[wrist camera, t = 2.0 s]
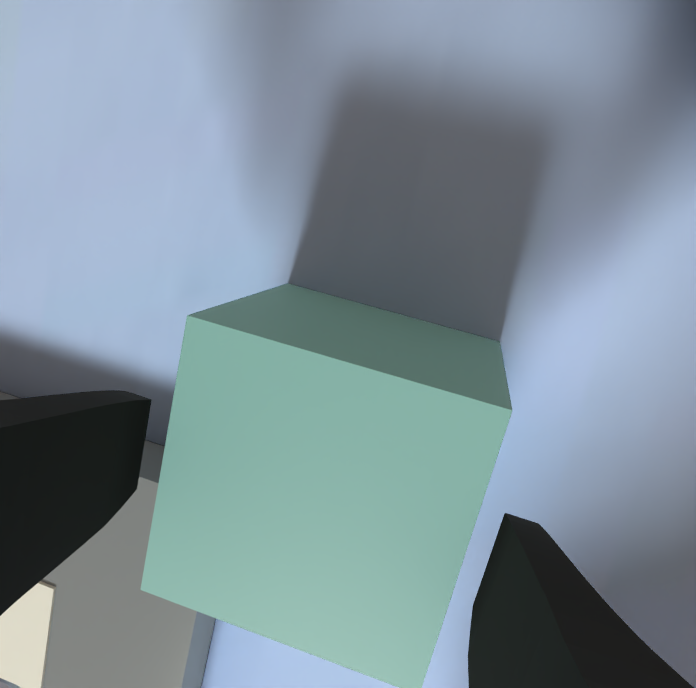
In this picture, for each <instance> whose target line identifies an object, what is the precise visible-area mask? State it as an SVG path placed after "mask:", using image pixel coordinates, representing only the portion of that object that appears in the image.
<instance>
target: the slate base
mask: <svg viewBox="0 0 696 688" xmlns="http://www.w3.org/2000/svg"><path fill="white" fill-rule="evenodd" d="M7 399H20V398H18V397H15V396H12V395H9V394H6V393H3V392H0V400H7ZM164 448H165V447H164V446H161V445H158V444H155V443H152V442H149V441H146V440H145V443H144V449H143V455H142V461H141V468H140V474H139V480H138V486H137V490H136V491H135V492H134V493H133V495H132V496H131V497H130V498H129V499H128V500H127V502H126V503H125V504H124V505H123V506H122V508H121V509H120V510H119V511H118V512H117V513H116V514H115V515H114V516H113V518H112V519H111V520H110V521H109V522H108V523H107V524H106V525H105V526H104V527H103V528H102V529H101V530H100V531H98V532H97V533H96V534H95V535H94V536H93V537H92V538H90V539H89V540H88V541H87V542H86V543H85V544H83V545H82V546H81V547H80V548H79V549H78V550H76V551H75V552H74V553H73V554H72V555H71V556H69V557H68V558H67V559H66V560H65V561H63V562H62V563H61V564H60V565H59V566H58V567H56V568H55V569H54V570H53V571H52V572H50V573H49V574H48V575H47V576H46V577H45V578H43V579H42V580H41V581H40V582H39V583H37V584H36V585H35V586H34V587H33V588H31V589H30V590H29V591H28V592H27V593H26V594H24V595H23V596H22V597H21V598H20V599H18V600H17V601H16V602H15V603H14V604H13V605H12V606H11V607H9V608H8V609H7V610H6V611H5V612H4V613H3V614H2V615H1V616H0V678H2V679H4V680H6V681H9V682H11V683H13V684H16V685H18V686H19V687H20V688H201V684H202V679H203V675H204V670H205V665H206V661H207V656H208V651H209V647H210V642H211V637H212V633H213V628H214V623H215V619H216V618H214V617H211V616H208V615H206V614H203V613H200V612H198V611H195V610H192V609H190V608H187V607H184V606H182V605H179V604H177V603H174V602H171V601H169V600H166V599H163V598H161V597H158V596H155V595H153V594H150V593H147V592H145V591H142V590H140V589H141V583H142V577H143V571H144V566H145V560H146V554H147V548H148V542H149V536H150V530H151V524H152V519H153V513H154V507H155V501H156V495H157V489H158V483H159V478H160V472H161V466H162V460H163V454H164Z"/></svg>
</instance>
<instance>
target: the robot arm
mask: <svg viewBox="0 0 696 688" xmlns="http://www.w3.org/2000/svg"><path fill="white" fill-rule="evenodd" d="M150 406H151V399H148V398H145V397H142V396H139V395H135V394H132V393H129V392H126V391H91V392H79V393H69V394H60V395H50V396H40V397H31V398H20V399H7V400H0V616H1V615H2V614H3V613H4V612H5V611H6V610H7V609H8V608H9V607H11V606H12V605H13V604H14V603H15V602H16V601H17V600H18V599H20V598H21V597H22V596H23V595H24V594H26V593H27V592H28V591H29V590H30V589H31V588H33V587H34V586H35V585H36V584H37V583H39V582H40V581H41V580H42V579H43V578H45V577H46V576H47V575H48V574H49V573H50V572H52V571H53V570H54V569H55V568H56V567H58V566H59V565H60V564H61V563H62V562H63V561H65V560H66V559H67V558H68V557H69V556H71V555H72V554H73V553H74V552H75V551H76V550H78V549H79V548H80V547H81V546H82V545H83V544H85V543H86V542H87V541H88V540H89V539H90V538H92V537H93V536H94V535H95V534H96V533H97V532H98V531H100V530H101V529H102V528H103V527H104V526H105V525H106V524H107V523H108V522H109V521H110V520H111V519H112V518H113V516H114V515H115V514H116V513H117V512H118V511H119V510H120V509H121V508H122V506H123V505H124V504H125V503H126V502H127V500H128V499H129V498H130V497H131V496H132V495H133V493H134V492H135V491H136V490H137V486H138V480H139V474H140V468H141V461H142V455H143V449H144V443H145V437H146V430H147V424H148V418H149V412H150ZM468 673H469V688H694V687H692V686H691V685H690V684H689V683H688V682H687V681H686V680H684V679H683V678H682V677H681V676H680V675H679V674H678V673H677V672H676V671H674V670H673V669H672V668H671V667H670V666H669V665H668V664H667V663H666V662H665V661H663V660H662V659H661V658H660V657H659V656H658V655H657V654H656V653H655V652H654V651H652V650H651V649H650V648H649V647H648V646H647V645H646V644H645V643H644V642H643V641H642V640H641V639H640V638H639V637H638V636H637V635H636V634H635V633H634V632H633V631H632V630H631V629H630V628H629V627H628V625H627V624H626V623H625V622H624V621H623V620H622V619H621V618H620V617H619V616H618V615H617V614H616V613H615V612H614V611H613V610H612V609H611V608H610V606H609V605H608V604H607V603H606V602H605V601H604V600H603V599H602V597H601V596H600V595H599V594H598V593H597V592H596V591H595V590H594V588H593V587H592V586H591V585H590V584H589V583H588V581H587V580H586V579H585V578H584V577H583V575H582V574H581V573H580V572H579V571H578V569H577V568H576V567H575V566H574V565H573V563H572V562H571V561H570V560H569V558H568V557H567V556H566V555H565V554H564V552H563V551H562V550H561V549H560V547H559V546H558V545H557V544H556V543H555V541H554V540H553V539H552V538H551V537H550V535H549V534H548V533H547V532H546V531H545V530H544V529H543V528H542V527H541V526H540V525H539V524H538V523H535V522H532V521H529V520H525V519H522V518H519V517H516V516H513V515H510V514H507V513H505V514H504V517H503V520H502V523H501V526H500V529H499V532H498V534H497V537H496V540H495V543H494V546H493V549H492V552H491V555H490V558H489V561H488V564H487V566H486V569H485V572H484V575H483V578H482V581H481V584H480V587H479V590H478V593H477V596H476V598H475V601H474V604H473V610H472V619H471V629H470V640H469V651H468ZM0 688H20V687H19V686H18V685H16V684H13V683H11V682H9V681H6V680H4V679H2V678H0Z"/></svg>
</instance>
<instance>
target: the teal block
mask: <svg viewBox="0 0 696 688" xmlns="http://www.w3.org/2000/svg"><path fill="white" fill-rule="evenodd" d="M511 413H512V406H511V400H510V395H509V389H508V384H507V379H506V373H505V368H504V362H503V357H502V351H501V346H500V342H499V341H496V340H492V339H488V338H485V337H481V336H477V335H474V334H470V333H466V332H463V331H459V330H455V329H452V328H448V327H445V326H441V325H437V324H434V323H430V322H426V321H423V320H419V319H415V318H412V317H408V316H405V315H401V314H397V313H394V312H390V311H386V310H383V309H379V308H375V307H372V306H368V305H364V304H361V303H357V302H354V301H350V300H346V299H343V298H339V297H335V296H332V295H328V294H324V293H321V292H317V291H314V290H310V289H306V288H303V287H299V286H295V285H292V284H284V285H281V286H278V287H275V288H272V289H269V290H266V291H262V292H259V293H256V294H253V295H250V296H247V297H244V298H240V299H237V300H234V301H231V302H228V303H225V304H221V305H218V306H215V307H212V308H209V309H206V310H203V311H199V312H196V313H193V314H190V315H187V319H186V325H185V331H184V337H183V343H182V349H181V355H180V360H179V366H178V372H177V378H176V384H175V390H174V396H173V401H172V407H171V413H170V419H169V425H168V431H167V437H166V442H165V448H164V454H163V460H162V466H161V472H160V478H159V483H158V489H157V495H156V501H155V507H154V513H153V519H152V524H151V530H150V536H149V542H148V548H147V554H146V560H145V566H144V571H143V577H142V583H141V589H140V590H142V591H145V592H147V593H150V594H153V595H155V596H158V597H161V598H163V599H166V600H169V601H171V602H174V603H177V604H179V605H182V606H184V607H187V608H190V609H192V610H195V611H198V612H200V613H203V614H206V615H208V616H211V617H214V618H216V619H219V620H222V621H224V622H227V623H229V624H232V625H235V626H237V627H240V628H243V629H245V630H248V631H251V632H253V633H256V634H259V635H261V636H264V637H267V638H269V639H272V640H275V641H277V642H280V643H282V644H285V645H288V646H290V647H293V648H296V649H298V650H301V651H304V652H306V653H309V654H312V655H314V656H317V657H320V658H322V659H325V660H328V661H330V662H333V663H335V664H338V665H341V666H343V667H346V668H349V669H351V670H354V671H357V672H359V673H362V674H365V675H367V676H370V677H373V678H375V679H378V680H380V681H383V682H386V683H388V684H391V685H394V686H396V687H399V688H422V685H423V682H424V678H425V675H426V672H427V669H428V666H429V663H430V660H431V657H432V654H433V651H434V648H435V645H436V642H437V639H438V636H439V633H440V630H441V627H442V624H443V620H444V617H445V614H446V611H447V608H448V605H449V602H450V599H451V596H452V593H453V590H454V587H455V584H456V581H457V578H458V575H459V572H460V569H461V566H462V563H463V559H464V556H465V553H466V550H467V547H468V544H469V541H470V538H471V535H472V532H473V529H474V526H475V523H476V520H477V517H478V514H479V511H480V508H481V505H482V501H483V498H484V495H485V492H486V489H487V486H488V483H489V480H490V477H491V474H492V471H493V468H494V465H495V462H496V459H497V456H498V453H499V450H500V447H501V443H502V440H503V437H504V434H505V431H506V428H507V425H508V422H509V419H510V416H511Z"/></svg>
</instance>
